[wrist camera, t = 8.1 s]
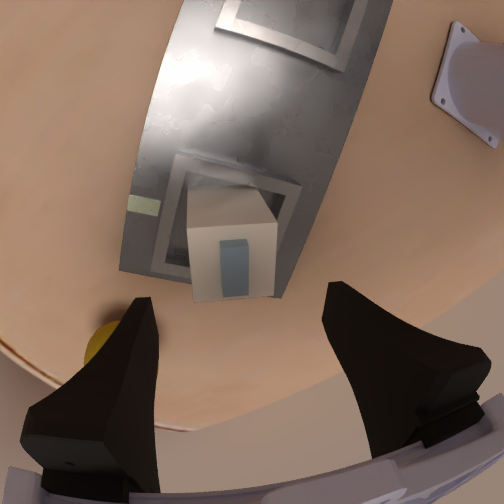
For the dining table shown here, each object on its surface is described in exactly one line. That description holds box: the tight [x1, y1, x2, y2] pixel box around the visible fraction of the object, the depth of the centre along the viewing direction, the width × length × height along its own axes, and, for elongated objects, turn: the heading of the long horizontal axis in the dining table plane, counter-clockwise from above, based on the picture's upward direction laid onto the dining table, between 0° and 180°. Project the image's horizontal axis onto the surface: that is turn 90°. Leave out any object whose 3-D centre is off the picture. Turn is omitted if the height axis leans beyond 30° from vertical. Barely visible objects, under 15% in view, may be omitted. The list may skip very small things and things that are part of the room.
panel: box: [119, 0, 393, 299], centre depth 17 cm, size 12×24×2 cm, turn 162°
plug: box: [187, 184, 278, 303], centre depth 17 cm, size 4×4×7 cm
